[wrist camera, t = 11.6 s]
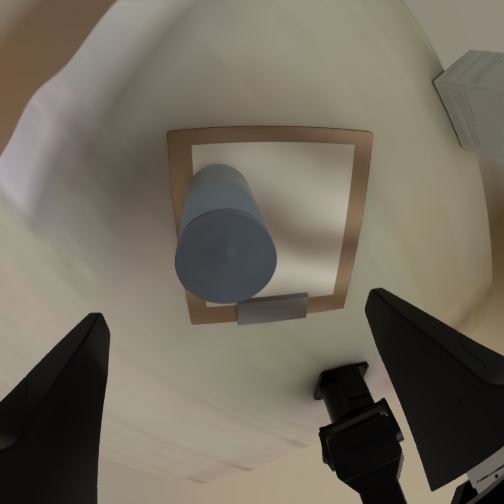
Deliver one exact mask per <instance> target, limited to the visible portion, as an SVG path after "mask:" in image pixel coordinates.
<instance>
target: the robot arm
mask: <svg viewBox="0 0 504 504" xmlns="http://www.w3.org/2000/svg"><path fill="white" fill-rule="evenodd" d="M365 313H366V317H367V319H368V322H369V325H370V328H371V331H372V334H373V337H374V340H375V344H376V346H377V349H378V351H379V354H380V356H381V358H382V361H383V363H384V365H385V368H386V370H387V372H388V375H389V377H390V379H391V382H392V384H393V386H394V389H395V391H396V394H397V396H398V399H399V401H400V404H401V406H402V409H403V411H404V414H405V416H406V419H407V422H408V424H409V427H410V430H411V432H412V435H413V438H414V441H415V443H416V447H417V450H418V453H419V455H420V458H421V461H422V464H423V467H424V470H425V473H426V477H427V480H428V483H429V486H430V489H431V491H435V490H437V489H439V488H440V487H442V486H444V485H446V484H448V483H450V482H451V481H453V480H455V479H456V478H458V477H460V476H461V475H463V474H465V473H467V475H468V478H469V479H468V480H467V481H465V482H464V483H462V484H461V485H459V486H458V487H457V488H456V491H455V494H454V496H453V499H452V502H451V504H504V356H503V355H501V354H498V353H497V352H495V351H493V350H491V349H489V348H487V347H485V346H483V345H481V344H479V343H477V342H475V341H474V340H472V339H470V338H468V337H467V336H465V335H463V334H462V333H460V332H459V333H458V331H457V330H455V329H453V328H452V327H450V326H448V325H446V324H445V323H443V322H441V321H440V320H438V319H436V318H434V317H433V316H431V315H429V314H427V313H426V312H424V311H422V310H421V309H419V308H417V307H415V306H413V305H412V304H410V303H408V302H406V301H405V300H403V299H401V298H399V297H398V296H396V295H394V294H392V293H390V292H389V291H387V290H385V289H383V288H375V289H372V290H371V291H370V292H369V296H368V299H367V302H366V306H365ZM109 347H110V331H109V328H108V326H107V324H106V321H105V319H104V316H103V315H102V313H99V312H98V313H89V314H88V315H87V316H86V317H85V318H84V319H83V320H82V321H81V322H80V323H79V324H77V325H76V326H75V327H74V328H73V329H72V330H71V331H70V332H69V333H68V334H67V335H66V336H65V337H64V338H63V339H62V340H61V341H60V342H59V343H58V344H57V345H56V346H55V347H54V348H53V349H52V350H51V351H50V352H49V353H48V354H47V355H46V356H45V357H44V358H43V359H42V360H41V361H40V362H39V363H38V364H37V365H36V366H35V367H34V368H33V369H32V370H31V371H30V372H29V373H28V374H27V375H26V377H24V378H23V379H22V380H21V382H20V383H19V384H18V385H17V386H16V387H15V388H14V389H13V390H12V391H11V392H10V393H9V394H8V395H7V396H6V397H5V398H4V399H3V400H2V401H1V402H0V504H97V477H98V457H99V443H100V432H101V422H102V413H103V405H104V398H105V391H106V384H107V377H108V361H109ZM368 367H369V365H368V363H367V362H365V363H361V364H357V365H353V366H348V367H344V368H339V369H334V370H330V371H325V372H323V373H321V376H320V379H319V382H318V385H317V388H316V392H315V395H314V399H315V400H321V399H324V402H325V405H326V408H327V410H328V413H329V416H330V419H331V422H332V424H329V425H327V426H325V427H324V426H323V427H320V428H319V430H320V432H319V433H318V434H319V437H320V441H321V445H322V458H323V462H324V463H325V464H328V466H329V467H330V468H331V470H332V471H333V472H334V471H336V474H337V477H338V478H339V479H340V480H341V481H343V482H344V483H345V484H347V485H348V486H349V487H351V488H352V489H354V490H355V491H357V492H358V493H359V494H360V497H361V500H362V503H363V504H407V502H406V499H405V497H404V494H403V491H402V489H401V486H400V483H399V478H400V473H401V469H402V465H403V460H404V456H403V452H402V449H401V446H400V444H399V442H401V441H403V440H404V438H403V435H402V432H401V430H400V427H399V425H398V423H397V421H396V419H395V417H394V415H393V413H392V411H391V409H390V407H389V405H388V403H387V401H386V399H385V398H382V399H381V400H380V401H378V402H376V403H374V400H373V398H372V396H371V394H370V392H369V389H368V387H367V385H366V382H365V380H364V378H363V377H364V375H365V373H366V371H367V369H368Z"/></svg>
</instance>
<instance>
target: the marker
mask: <svg viewBox="0 0 504 504" xmlns="http://www.w3.org/2000/svg"><path fill="white" fill-rule="evenodd" d="M276 265H277V253H276V248H275V245H274V243H273V240H272V238H271V236H270V233H269V231H268V229H267V226H266V224H265V222H264V220H263V217H262V215H261V213H260V210H259V208H258V206H257V204H256V201H255V199H254V197H253V194H252V192H251V190H250V188H249V185H248V183H247V181H246V179H245V178H244V176H243V175H242V174H241V173H240V172H239V171H238V170H236V169H235V168H233V167H231V166H228V165H222V164H215V165H210V166H207V167H205V168H203V169H201V170H200V171H198V172H197V173H196V174H195V175H194V176H193V177H192V179H191V181H190V183H189V185H188V189H187V194H186V199H185V204H184V209H183V215H182V220H181V226H180V231H179V237H178V243H177V250H176V256H175V268H176V272H177V275H178V278H179V280H180V281H181V283H182V285H183V286H184V287H185V288H186V289H187V290H188V291H189V292H190V293H191V294H193V295H194V296H196V297H198V298H200V299H202V300H204V301H208V302H211V303H217V304H230V303H236V302H241V301H244V300H246V299H249V298H251V297H253V296H254V295H256V294H257V293H259V292H260V291H261V290H262V289H263V288H264V287H265V286H266V285H267V284H268V283H269V282H270V280H271V278H272V277H273V274H274V272H275V269H276Z"/></svg>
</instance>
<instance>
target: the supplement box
mask: <svg viewBox="0 0 504 504" xmlns="http://www.w3.org/2000/svg"><path fill="white" fill-rule="evenodd" d="M433 83H434V85H435V87H436V89H437V91H438V93H439V95H440V97H441V99H442V101H443V103H444V106H445V108H446V110H447V112H448V115H449V117H450V119H451V122H452V124H453V126H454V129H455V131H456V134H457V136H458V139H459V141H460V144H461V146H462V147H463V148H465V149H467V150H470V151H472V152H475V153H477V154H480V155H482V156H484V157H487V158H490V159H491V160H494V161H496V162H498V163H501V164H503V165H504V53H500V52H490V51H489V52H488V51H474V50H470V51H468V52H467V53H466V54H465V55H463V56H462V57H461V58H460V59H459V60H458V61H456V62H455V63H454V64H453V65H452V66H451V67H449V68H448V69H447V70H446V71H445V72H443V73H442V74H441V75H440V76H439V77H438V78H436V79H435V80H434V81H433Z"/></svg>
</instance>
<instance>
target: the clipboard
mask: <svg viewBox="0 0 504 504" xmlns="http://www.w3.org/2000/svg"><path fill="white" fill-rule="evenodd" d="M167 139H168V152H169V164H170V175H171V185H172V195H173V204H174V212H175V221H176V228H177V236H178V237H179V231H180V226H181V220H182V215H183V209H184V204H185V199H186V194H187V189H188V185H189V183H190V181H191V179H192V177H193V176H194V175H195V174H196V173H197V172H198V171H200V170H201V169H203V168H205V167H207V166H210V165H215V164H222V165H228V166H231V167H233V168H235V169H236V170H238V171H239V172H240V173H241V174H242V175H243V176H244V178H245V179H246V181H247V183H248V185H249V188H250V190H251V192H252V194H253V197H254V199H255V201H256V204H257V206H258V208H259V210H260V213H261V215H262V217H263V220H264V222H265V224H266V226H267V229H268V231H269V233H270V236H271V238H272V240H273V243H274V245H275V248H276V253H277V265H276V269H275V272H274V274H273V277H272V278H271V280H270V282H269V283H268V284H267V285H266V286H265V287H264V288H263V289H262V290H261V291H260V292H259V293H257V294H256V295H254V296H253V297H251V298H249V299H246V300H244V301H241V302H236V303H230V304H217V303H211V302H208V301H204V300H202V299H200V298H198V297H196V296H194V295H193V294H191V293H190V292H189V291H188V290H187V289H186V288H185V289H186V295H187V301H188V306H189V312H190V317H191V323H192V325H195V324H209V323H222V322H234V321H238V325H245V324H255V323H265V322H274V321H282V320H290V319H298V318H306V314H307V313H314V312H321V311H328V310H335V309H342V308H344V304H345V299H346V295H347V291H348V287H349V283H350V278H351V274H352V269H353V264H354V260H355V255H356V250H357V245H358V239H359V234H360V228H361V223H362V217H363V211H364V204H365V198H366V191H367V184H368V176H369V168H370V160H371V151H372V141H373V133H372V132H368V131H358V130H348V129H335V128H320V127H299V126H233V127H212V128H197V129H184V130H174V131H168V132H167Z"/></svg>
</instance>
